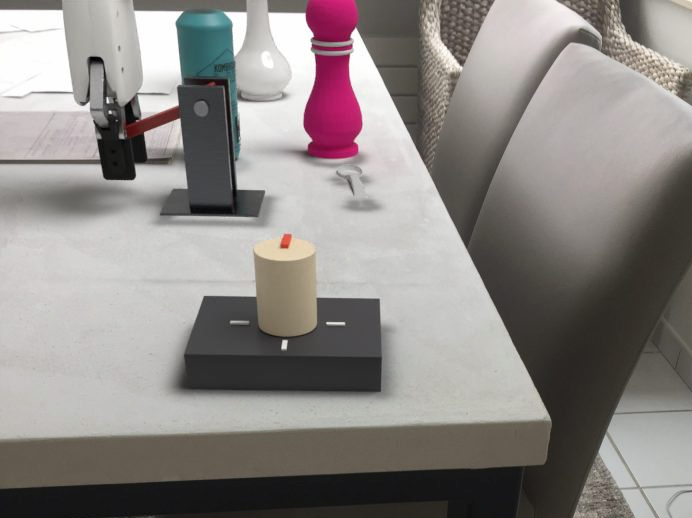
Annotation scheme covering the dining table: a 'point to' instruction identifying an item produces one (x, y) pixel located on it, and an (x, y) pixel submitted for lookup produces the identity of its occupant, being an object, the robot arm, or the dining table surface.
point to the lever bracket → (209, 154)
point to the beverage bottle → (209, 52)
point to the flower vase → (260, 58)
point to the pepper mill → (332, 81)
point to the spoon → (354, 180)
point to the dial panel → (285, 348)
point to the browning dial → (286, 286)
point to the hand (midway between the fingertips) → (126, 168)
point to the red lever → (154, 120)
